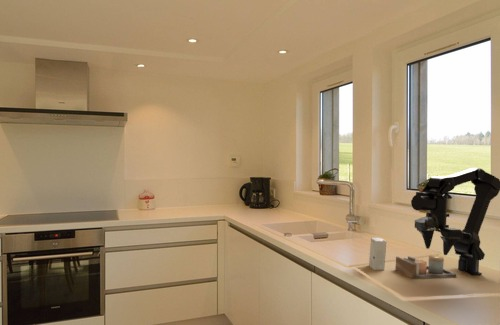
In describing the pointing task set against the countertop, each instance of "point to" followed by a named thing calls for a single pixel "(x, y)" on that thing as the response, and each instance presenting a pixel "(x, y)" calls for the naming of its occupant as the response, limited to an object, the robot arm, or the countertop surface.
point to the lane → (409, 270)
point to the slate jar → (435, 264)
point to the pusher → (414, 263)
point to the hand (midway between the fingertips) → (436, 251)
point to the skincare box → (377, 253)
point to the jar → (422, 266)
